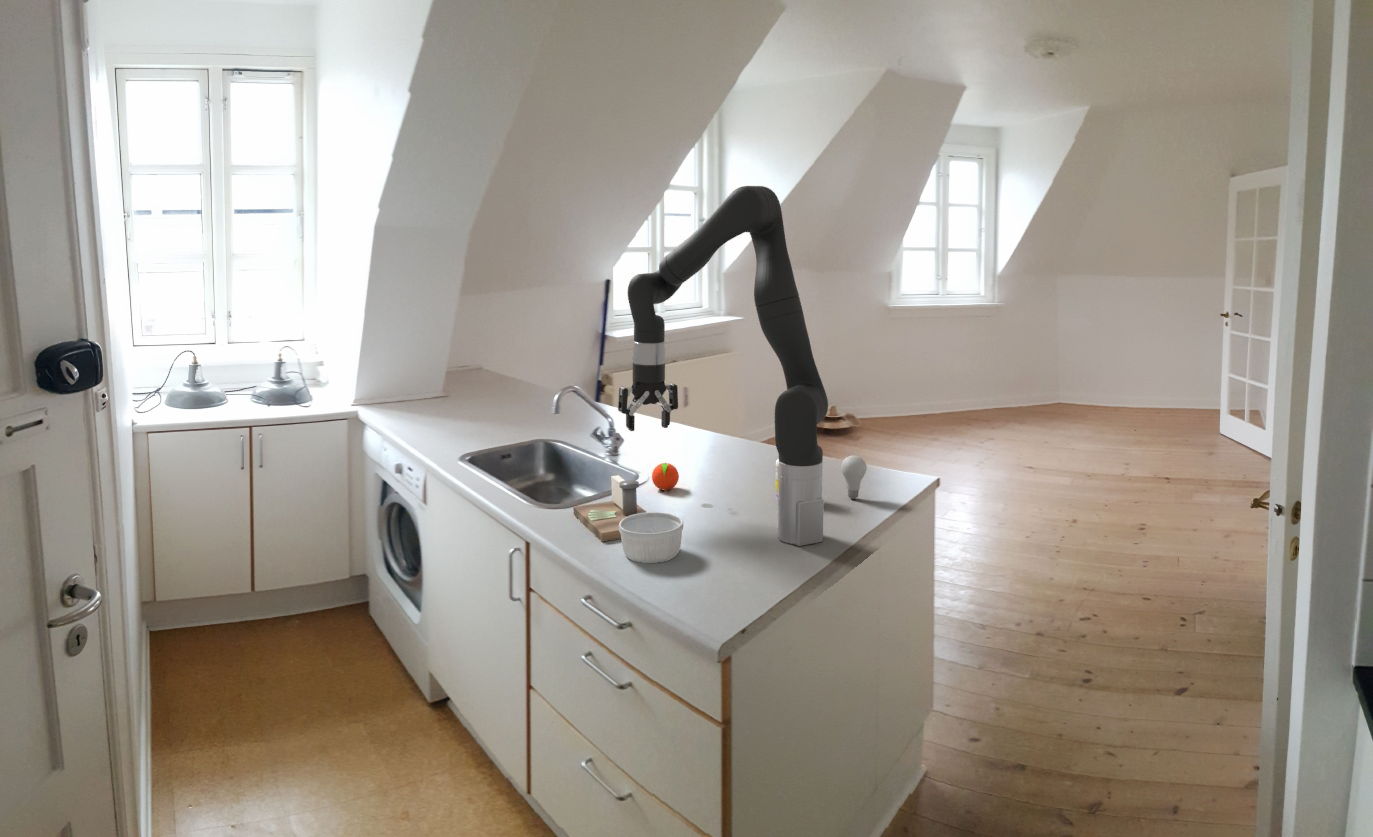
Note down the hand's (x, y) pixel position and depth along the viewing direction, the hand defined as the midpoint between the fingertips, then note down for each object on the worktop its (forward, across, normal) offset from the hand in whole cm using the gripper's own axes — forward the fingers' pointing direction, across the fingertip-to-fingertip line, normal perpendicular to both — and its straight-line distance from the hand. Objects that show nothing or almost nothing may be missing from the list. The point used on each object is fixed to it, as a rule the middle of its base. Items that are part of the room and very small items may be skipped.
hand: (648, 428), depth 203 cm
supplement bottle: (+19, +33, -10) cm, 40 cm away
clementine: (+20, +10, +11) cm, 25 cm away
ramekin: (+19, -11, -28) cm, 35 cm away
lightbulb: (+18, +47, -18) cm, 54 cm away
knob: (+17, -7, -4) cm, 19 cm away
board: (+20, -10, -7) cm, 23 cm away
